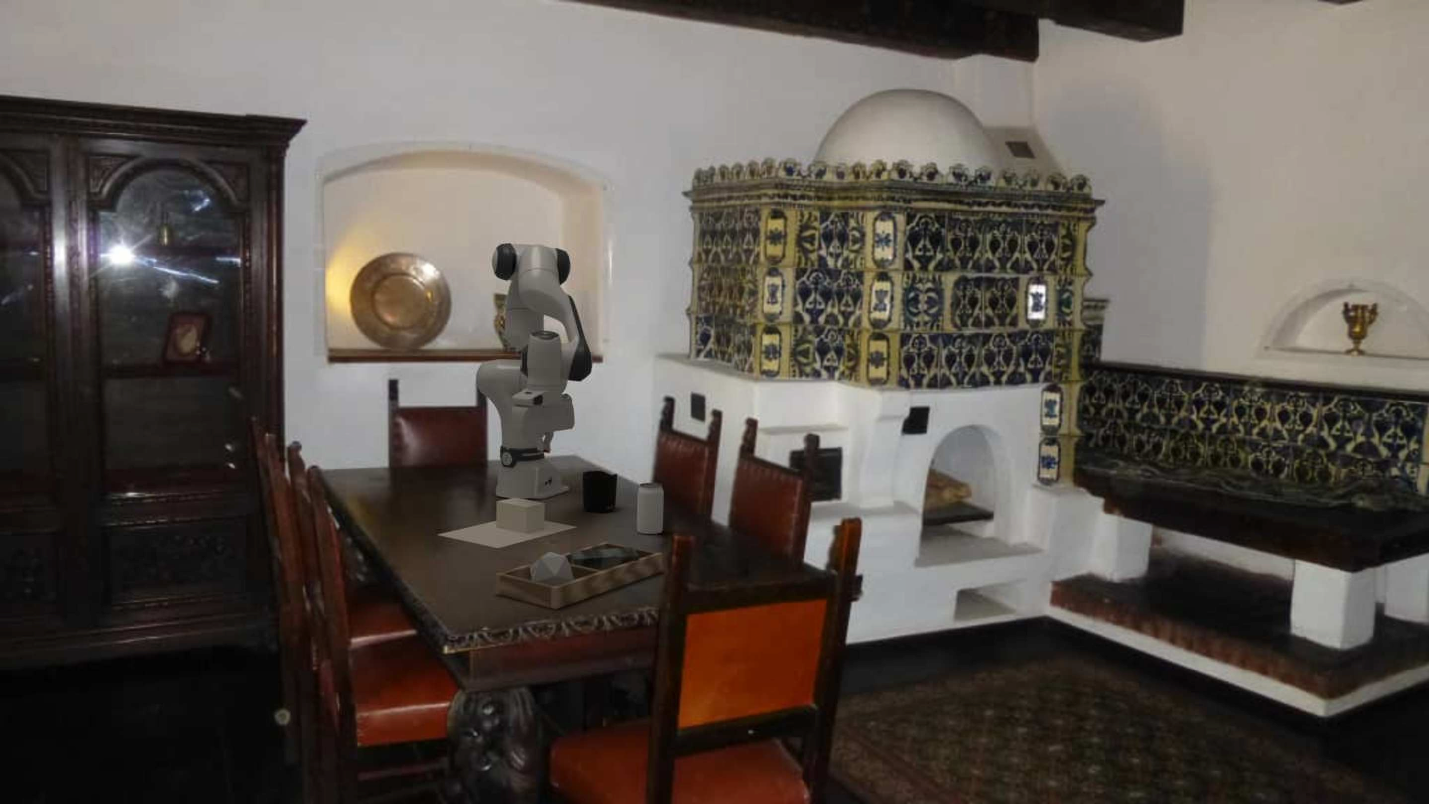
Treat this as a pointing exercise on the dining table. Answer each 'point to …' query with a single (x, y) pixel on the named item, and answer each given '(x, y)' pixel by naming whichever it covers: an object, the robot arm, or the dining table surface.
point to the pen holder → (599, 491)
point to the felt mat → (502, 534)
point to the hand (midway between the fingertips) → (543, 450)
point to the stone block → (603, 557)
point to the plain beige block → (520, 515)
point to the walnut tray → (577, 579)
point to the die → (552, 569)
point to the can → (650, 508)
